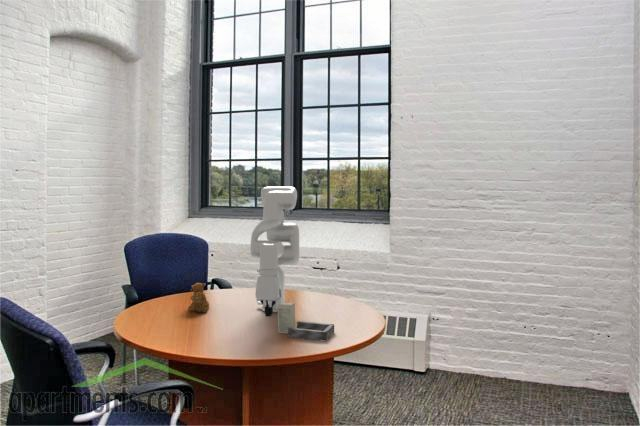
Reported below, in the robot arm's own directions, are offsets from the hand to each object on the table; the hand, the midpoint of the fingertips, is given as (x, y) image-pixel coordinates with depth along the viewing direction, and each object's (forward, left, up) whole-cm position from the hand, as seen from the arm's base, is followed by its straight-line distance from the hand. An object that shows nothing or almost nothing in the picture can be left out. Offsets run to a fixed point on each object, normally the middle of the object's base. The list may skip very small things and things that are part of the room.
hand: (268, 315), depth 218 cm
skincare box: (+8, 0, -7) cm, 10 cm away
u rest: (+19, 0, -6) cm, 20 cm away
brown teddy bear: (-44, +19, -7) cm, 49 cm away
